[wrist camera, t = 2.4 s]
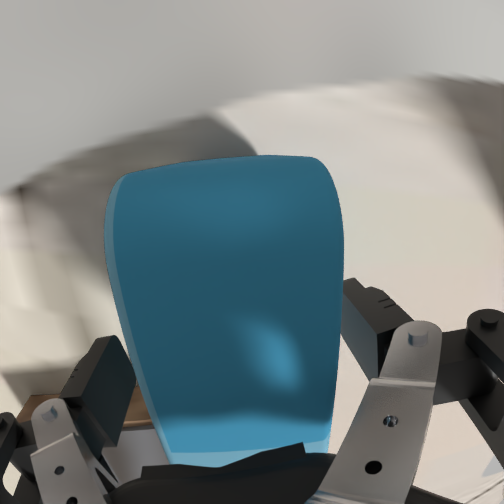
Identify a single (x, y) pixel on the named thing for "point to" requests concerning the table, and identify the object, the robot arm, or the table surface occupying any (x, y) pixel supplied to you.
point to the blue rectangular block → (230, 301)
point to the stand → (122, 438)
